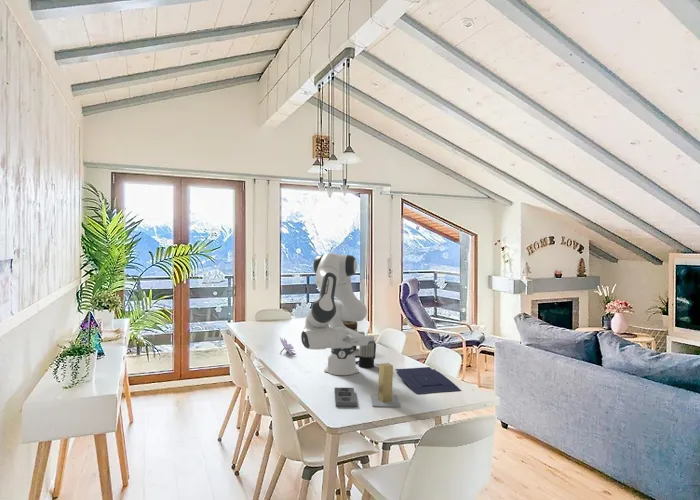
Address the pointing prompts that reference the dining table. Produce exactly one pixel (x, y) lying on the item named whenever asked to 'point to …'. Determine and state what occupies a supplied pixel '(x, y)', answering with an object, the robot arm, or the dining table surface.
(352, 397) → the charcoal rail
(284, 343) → the purple daisy flower
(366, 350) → the milk frother
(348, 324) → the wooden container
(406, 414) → the dining table surface
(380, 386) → the brass peg
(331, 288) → the robot arm
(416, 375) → the navy flat rectangular piece
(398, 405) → the grey mat
